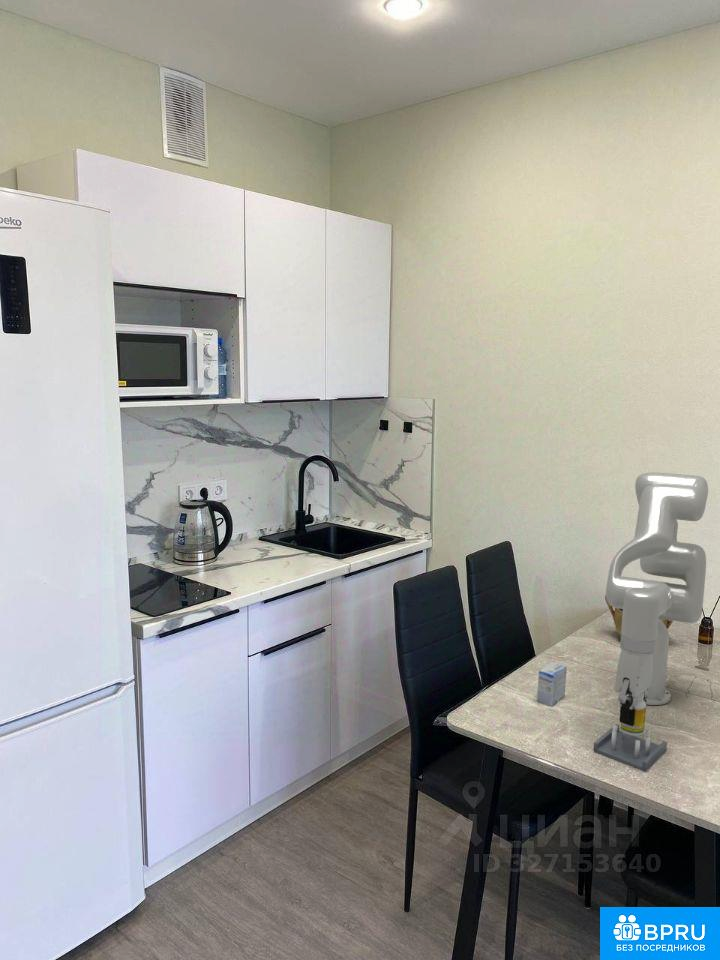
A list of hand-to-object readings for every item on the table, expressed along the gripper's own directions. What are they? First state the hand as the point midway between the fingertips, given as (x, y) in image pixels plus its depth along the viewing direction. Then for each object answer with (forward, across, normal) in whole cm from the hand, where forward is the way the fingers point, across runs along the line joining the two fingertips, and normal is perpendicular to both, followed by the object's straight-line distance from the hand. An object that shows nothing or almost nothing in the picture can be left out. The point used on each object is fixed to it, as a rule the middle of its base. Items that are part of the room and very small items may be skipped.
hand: (632, 718), depth 164 cm
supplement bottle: (+3, 0, 0) cm, 3 cm away
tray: (+8, 0, 0) cm, 8 cm away
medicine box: (+8, -11, -26) cm, 30 cm away
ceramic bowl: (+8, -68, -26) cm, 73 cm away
